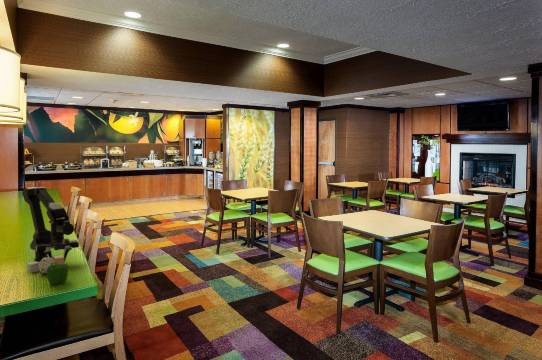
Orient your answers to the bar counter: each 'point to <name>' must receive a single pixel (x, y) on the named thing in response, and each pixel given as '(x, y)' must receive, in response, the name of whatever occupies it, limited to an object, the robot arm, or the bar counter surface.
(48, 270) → the bell pepper
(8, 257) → the bar counter surface
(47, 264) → the game die
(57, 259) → the terracotta block
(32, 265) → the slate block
